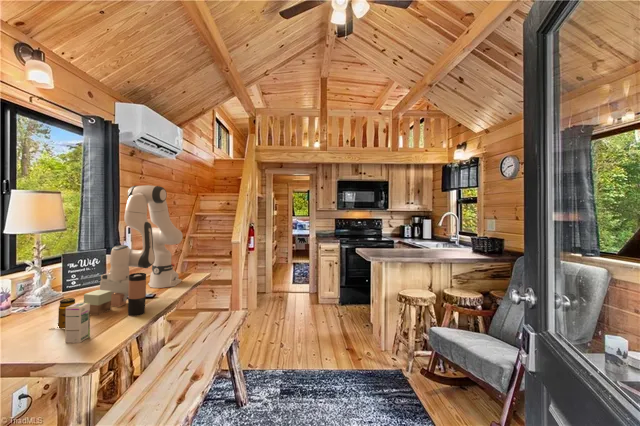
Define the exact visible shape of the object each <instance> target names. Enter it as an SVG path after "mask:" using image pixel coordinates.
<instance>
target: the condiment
mask: <svg viewBox="0 0 640 426" xmlns="http://www.w3.org/2000/svg"><path fill="white" fill-rule="evenodd" d="M75 303H76V299H75V298H73V297H68V298H62V299H61V300H60V301H59V306H58V317H57V318H58V319H57V320H58V321H57V322H58V323H57V324H58V326H59V328H65V323H66V320H65V319H66V307H69V306H71V305H73V304H75ZM50 328H51V329H50V330H56V329H55V328H53V329H52V327H50Z"/></svg>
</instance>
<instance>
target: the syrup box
mask: <svg viewBox="0 0 640 426" xmlns="http://www.w3.org/2000/svg"><path fill="white" fill-rule="evenodd" d="M65 320H66V323H65V329H64V330H65V332H64V333H65V337H64V338H65V343H66V344H80V343H82V342H83V341H85V340H86V339H88V338H91V337H90V336H91V334H90V333H91V330H90V327H91V325H90V323H91V315H90V303H84V301H83V302H75V304H73V305H71V306H69V307H66V319H65Z"/></svg>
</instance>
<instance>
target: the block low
mask: <svg viewBox="0 0 640 426" xmlns="http://www.w3.org/2000/svg"><path fill="white" fill-rule="evenodd" d="M111 310H112V306H111V301H109V302H106V303H104V304H101V305H90V316H91V315H92V316H100V315H102V314H104V313H107V312H110V311H111Z"/></svg>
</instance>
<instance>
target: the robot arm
mask: <svg viewBox="0 0 640 426" xmlns="http://www.w3.org/2000/svg"><path fill="white" fill-rule="evenodd" d="M127 198H128V199H127V201H126V205H125V209H124V217H123V219H124V223H125V224H126V226H128V227H129V228H131V229H133V230H135V231H137V232H138V233H140V235H141V238H142V241H141V242H142V249H131V248H129V246H128V245H126V244H125V245H124V244H120V245H115V246H114V247H112V249H111V251H110V259H109V260H110V261H109V264H110V268H109V272H108V273H104V274H101V275H100V279H101V280H100V281H99V290H106V291H112V292H111V295H112V294H115V293H123V294H124V298H122V301H123V302H125V301H126V302H128V289H129V275H130V267H131V268H140V269H148V268H150V267H151V270H152V271H151V272H150V277H149V282H148V283H147V285H148V286H149V287H150V288H152V289H153V288H154V289H157V288H158V289H160V288H161V289H163V288H170V287H171V288H172V287H176V286H177V285H178V284H180V283H181V281H182V282H183V279H181V278H179V273H178V272H177V271H176V270H174V269H173V268H174V267H175V266H176V264H175V263H172V252H171V250H169V249H167V247H166V245H168V246H172V245H178V244H181V242H182V241H183V237H184V236H183V235H184V234H183V232H182V230H180V229H179V228H177V227H176V226H175V225H174V224H173V222H172V220H171V216H170V213H169V207H168V202H167V190H166V189H165V188H164V187H162V186H159V185H148V184H146V185H132V186H130V187H129V188H128V191H127ZM148 213H149V218H150V222H151V223H152V224H153V225H155V226H156V227H152V224H151V223H150V222H149V220H148V217H147V216H148Z"/></svg>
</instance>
